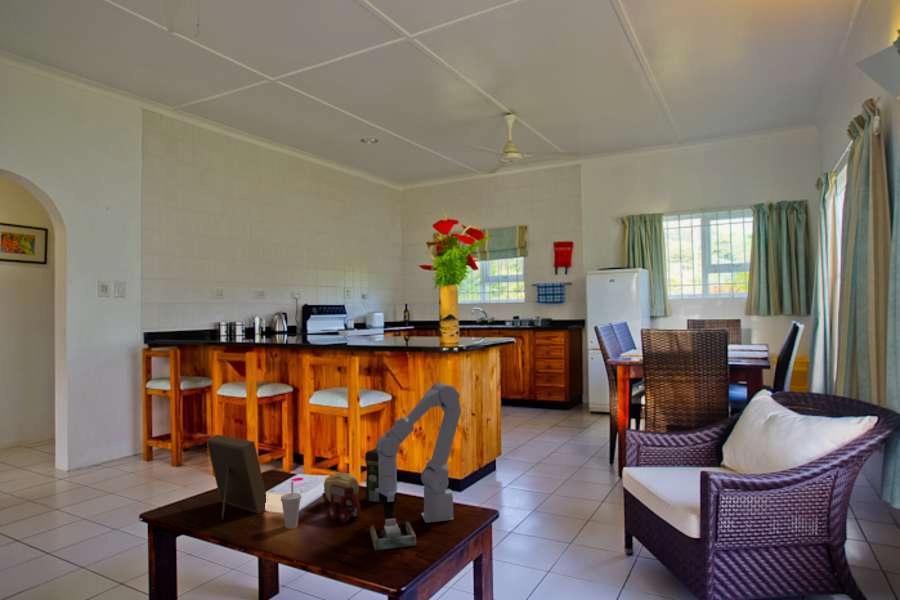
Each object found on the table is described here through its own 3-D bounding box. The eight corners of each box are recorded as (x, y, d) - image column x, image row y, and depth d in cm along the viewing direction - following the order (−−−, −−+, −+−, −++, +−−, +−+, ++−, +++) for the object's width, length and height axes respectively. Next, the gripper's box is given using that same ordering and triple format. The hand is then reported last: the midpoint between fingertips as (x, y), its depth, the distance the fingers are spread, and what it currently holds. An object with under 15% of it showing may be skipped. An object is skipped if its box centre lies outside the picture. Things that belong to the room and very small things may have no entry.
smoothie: (305, 524, 171) (305, 480, 172) (292, 531, 166) (291, 486, 166) (290, 521, 174) (290, 478, 175) (276, 528, 168) (276, 484, 169)
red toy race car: (351, 524, 171) (351, 492, 171) (323, 517, 177) (323, 486, 178) (365, 517, 177) (365, 486, 177) (338, 511, 183) (337, 480, 183)
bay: (409, 529, 166) (409, 521, 166) (416, 545, 154) (416, 536, 154) (370, 534, 163) (370, 525, 163) (374, 550, 151) (374, 541, 151)
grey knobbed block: (399, 532, 163) (399, 518, 164) (403, 542, 157) (403, 526, 157) (381, 534, 162) (381, 520, 162) (384, 544, 155) (384, 528, 155)
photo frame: (231, 498, 197) (230, 431, 198) (268, 509, 185) (268, 438, 186) (193, 511, 185) (192, 440, 185) (230, 524, 173) (230, 447, 173)
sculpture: (319, 507, 187) (319, 476, 188) (336, 496, 199) (336, 467, 199) (348, 510, 184) (348, 478, 184) (364, 498, 195) (363, 469, 196)
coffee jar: (376, 493, 201) (376, 444, 201) (394, 496, 197) (393, 446, 198) (361, 501, 192) (361, 450, 193) (380, 504, 189) (379, 452, 189)
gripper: (372, 469, 175) (373, 510, 175) (377, 482, 161) (378, 527, 161) (393, 467, 177) (394, 508, 176) (400, 479, 163) (401, 524, 162)
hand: (388, 517), depth 169 cm, fingers closed
